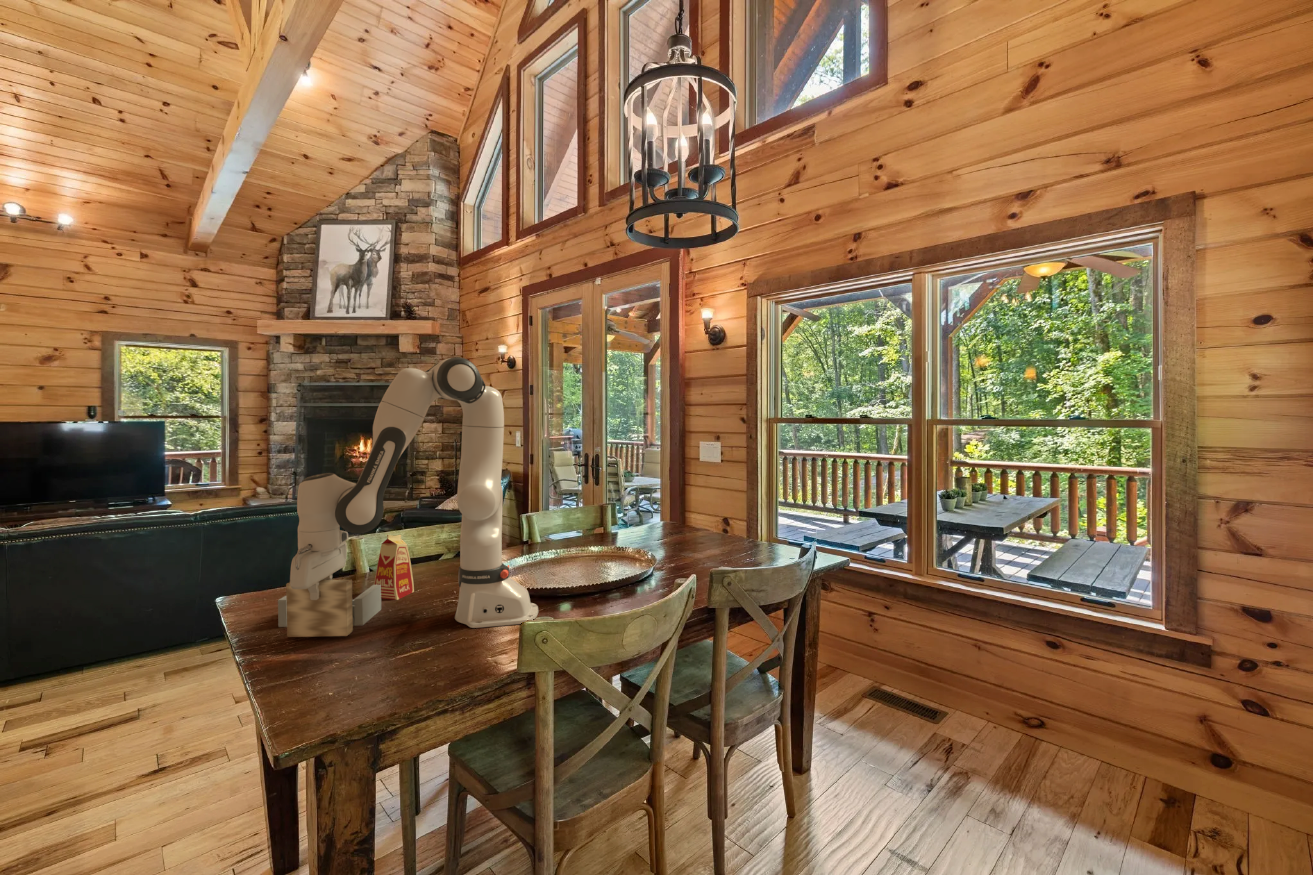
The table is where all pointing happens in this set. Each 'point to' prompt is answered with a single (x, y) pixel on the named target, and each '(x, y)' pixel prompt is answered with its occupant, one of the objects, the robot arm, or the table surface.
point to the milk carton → (394, 569)
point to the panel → (320, 610)
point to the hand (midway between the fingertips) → (320, 596)
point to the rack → (361, 607)
